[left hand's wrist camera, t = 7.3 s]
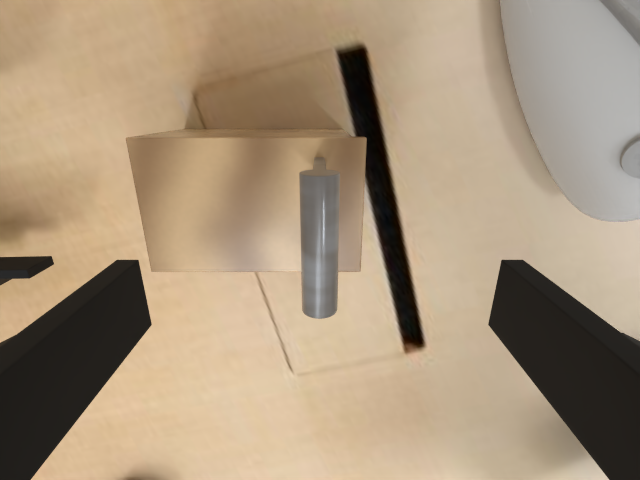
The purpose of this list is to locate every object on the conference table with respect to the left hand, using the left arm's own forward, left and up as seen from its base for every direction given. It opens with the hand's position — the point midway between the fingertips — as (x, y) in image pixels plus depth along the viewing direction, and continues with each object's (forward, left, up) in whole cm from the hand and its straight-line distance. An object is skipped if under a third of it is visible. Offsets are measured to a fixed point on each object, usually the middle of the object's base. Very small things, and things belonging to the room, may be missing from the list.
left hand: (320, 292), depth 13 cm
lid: (+4, +2, -12) cm, 13 cm away
